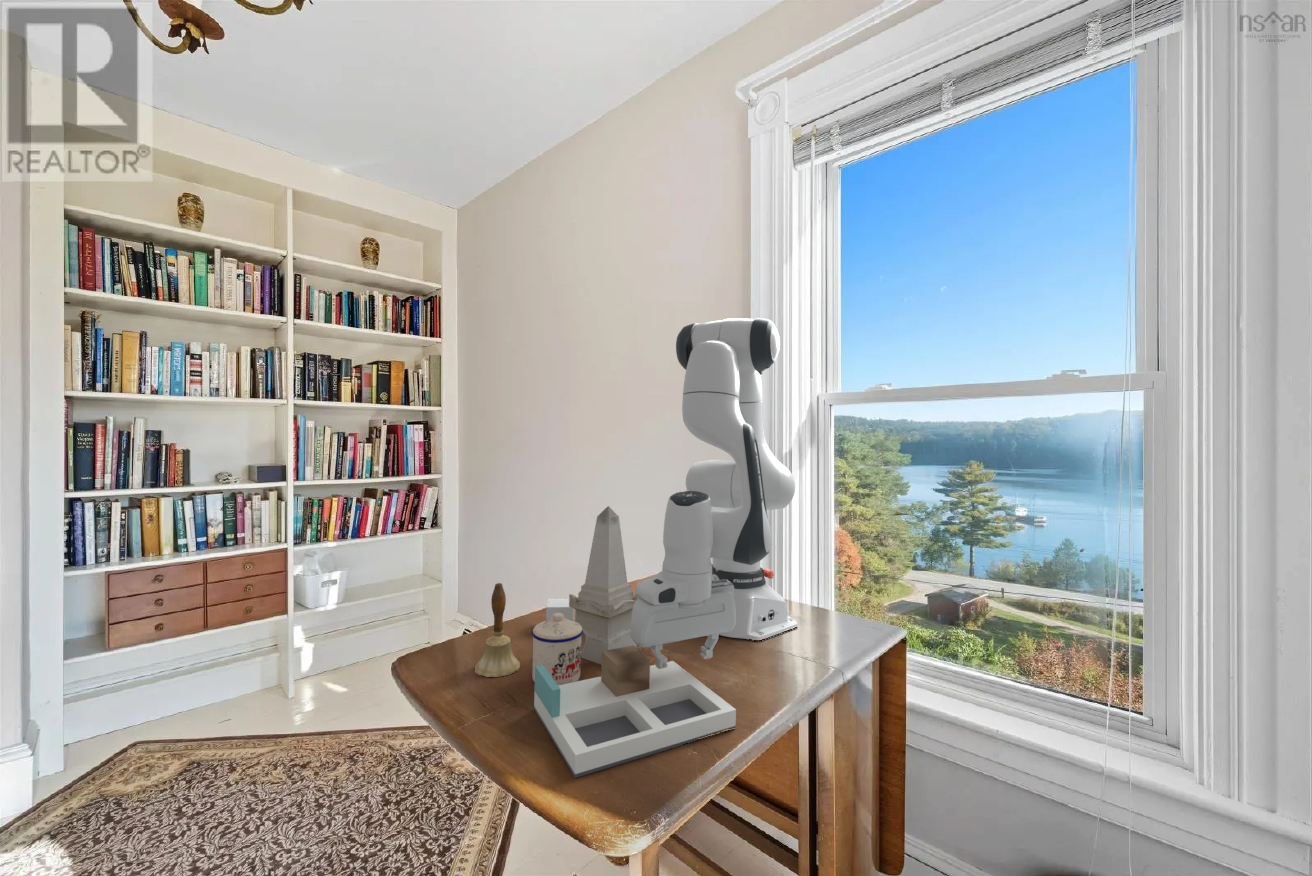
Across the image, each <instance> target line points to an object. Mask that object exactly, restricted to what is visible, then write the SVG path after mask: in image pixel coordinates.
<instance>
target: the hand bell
mask: <svg viewBox="0 0 1312 876" xmlns="http://www.w3.org/2000/svg"><path fill="white" fill-rule="evenodd" d="M506 597H507V596H506V593H505V589H504V587H503V583H501V582H499V583H498V582H497V583H495V585H494V589H493V592H492V594H491V604H490V605H491V610H492V613H493V635H492V636H490V637H488V638H486V640H485V647H484V651H483V654H482V657H481V658H480V660H479V661H477V663H476V665H475V666H474V668H475V671H476V672H477V673H478V674H479V675H483V676H487V677H488V676H489V677H498V678H502V677H501V676H504V677H506V676H505V675H508V676H510V674H511V675H512V673H513V674H515V673H516V672H517V671H519V670H520V667H521V663H520V660H519V659H518V658H516V657H515V656H514V652H513V650H512V644H511V642H512V641H511V638H510V636H508V635H505V634H504V627H503V626H504V624H503V623H504V620H503V617H504V612H505V609H506V605H507V604H506V602H507V599H506ZM475 671H474V672H475ZM515 671H516V672H515ZM479 675H478V676H479ZM499 676H500V677H499ZM487 677H486V678H487Z"/></svg>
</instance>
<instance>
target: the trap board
mask: <svg viewBox="0 0 1312 876" xmlns="http://www.w3.org/2000/svg"><path fill="white" fill-rule="evenodd" d="M533 695H534V696H533V697H534V698H533V699H534V701H533V704H534V705H533V710H534V712H535V713H536V715H537V717H538V718H539V720H540V722H541V723H542V725H543V727H544V728H545V730H546V731H547V734H548V735H549V737H550V739H551V740H552V742H553V744H554V745H555V747H556V748H557V750H558V752H559V753H560V756H561V757H562V759H563V760H564V762H565V763H566V765H567V767H568V769H569V771H570V772H571V774H572V776H573V777H574V778H575V779H577V778H580V777H584V776H586V775H587V776H588V775H589V774H592V773H593V774H594V773H597V772H600V771H603V770H605V769H610V768H612V767H616V766H619V765H622V764H626V763H629V762H632V761H635V760H638V759H642V758H645V757H649V756H651V755H655V754H658V753H662V752H664V751H668V750H671V748H672V749H676V748H678V747H681V746H684V745H683V744H685V743H688V744H691V743H693V742H692V741H694V740H696V739H698V738H702V737H705V736H708V735H711V734H716V733H718V732H721V731H723V730H726V729H732V728H735V727H736V721H737V720H736V719H737V709H736V708H735V707H733V706H732V705H731V704H730V703H728V702H727V701H726V700H724V699H723V698H722V697H721V696H719V694H717V693H715V692H714V691H713V690H711V689H710V688H709V687H708V686H706V685H705V684H704V683H702V682H701V681H700V680H698V679H697V678H696V677H695V676H693V675H692V674H691V673H690V672H688V671H686V670H685V669H684V668H683V667H681V666H680V665H679V664H678V663H677V662H675V661H674V660H671V661H667V667H666V668H662V669H658V668H657V667H656V665H655V664H652V665H650V680H649V689H647V690H643V691H638V692H634V693H630V694H626V695H622V696H617V697H616V696H615V695H614V694H613V693H612V692H611V691H610V690H609V689H608V688H607V687H606V685H605V684H604V683H603V682H602V681H601V676H596V677H591V678H587V679H583V680H578V681H576V682H572V683H567V684H563V685H557V684H556V682H555V681H554V680H553V678H552V677H551V676H550V674H549V673H548V671H547V670H546V669H545V667H544V666H543V665H537V666H535V682H534V694H533ZM736 728H737V727H736ZM690 742H691V743H690ZM694 742H695V741H694ZM685 745H686V744H685Z"/></svg>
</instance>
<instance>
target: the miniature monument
mask: <svg viewBox="0 0 1312 876" xmlns="http://www.w3.org/2000/svg"><path fill="white" fill-rule="evenodd" d="M623 545H624V544H623V539H622V531H621V523H620V516H619V515H618V514H617V513H616V512H615V511H614V510H613V509H612V508H611V507H610V505H609V506H608V505H607V507H605V508H604V509H603V510H602V511H601V512H600V513H599V514H598V515H597V516H596V520H595V525H594V532H593V538H592V543H591V547H590V553H589V559H588V564H587V570H586V575H585V576H586V577H585V581H584V584H582V585H581V586H580V590H579V592H578V594H577V596H578V597H577V596H576V595H574V594H570V593H569V594H568V595H569V596H568V597H569V598H568V599H569V607H572V608H574V610H576V611H575V622H577V623H579V624H580V625H581V627H582V629H583V630H585V631H586V633H587V643H586V646H585V649H584V651H583V652H582V653H581V659H583V660H588V661H591V662H593V663H595V664H598V665H601V666H602V651H606V650H612V649H617V648H622V647H627V646H633V645H634V646H635V647H637V648H638V644H636V643H635V642H634V641H633V639H632V638H631V618H632V610H633V606H634V603H635V602H636V600H637V599H638V598H640V596H638V595H637V593H636V592H635V594H634V591H633V590H632V589H631V588H632V585H631V584H630V583H629V582H628V576H627V571H626V561H625V552H624V547H623Z"/></svg>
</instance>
